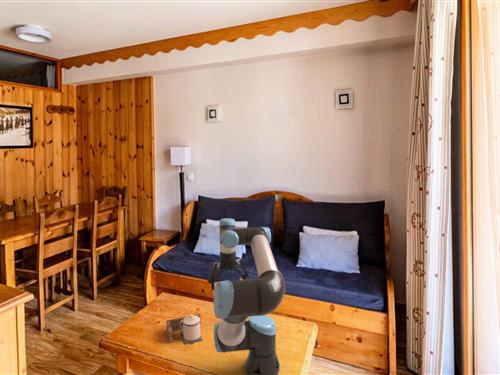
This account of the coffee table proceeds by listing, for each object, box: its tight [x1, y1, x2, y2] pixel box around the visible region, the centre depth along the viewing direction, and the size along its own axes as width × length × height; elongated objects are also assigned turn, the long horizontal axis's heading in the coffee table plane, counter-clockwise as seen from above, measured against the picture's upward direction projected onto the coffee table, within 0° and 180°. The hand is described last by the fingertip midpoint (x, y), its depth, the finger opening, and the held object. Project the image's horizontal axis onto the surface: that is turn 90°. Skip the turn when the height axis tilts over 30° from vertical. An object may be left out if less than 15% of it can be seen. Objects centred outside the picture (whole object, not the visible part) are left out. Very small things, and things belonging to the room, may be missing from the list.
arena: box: [165, 313, 203, 346], centre depth 168 cm, size 16×18×6 cm
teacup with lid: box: [180, 314, 201, 341], centre depth 167 cm, size 12×9×12 cm
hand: (228, 293), depth 157 cm, fingers open, 13 cm apart
